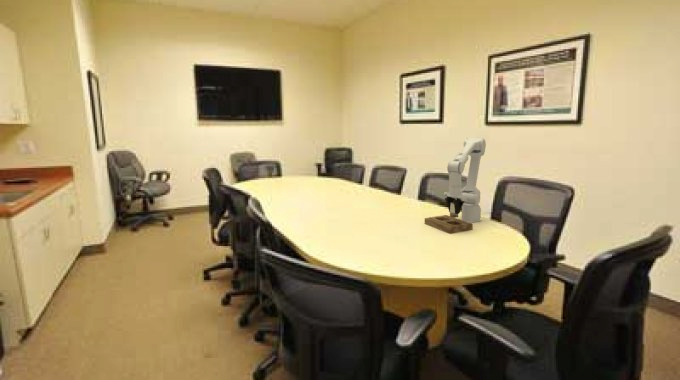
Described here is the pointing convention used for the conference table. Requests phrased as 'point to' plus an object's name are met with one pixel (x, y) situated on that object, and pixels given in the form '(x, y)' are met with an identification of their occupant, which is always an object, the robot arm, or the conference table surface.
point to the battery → (452, 210)
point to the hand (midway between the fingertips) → (454, 212)
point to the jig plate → (448, 224)
